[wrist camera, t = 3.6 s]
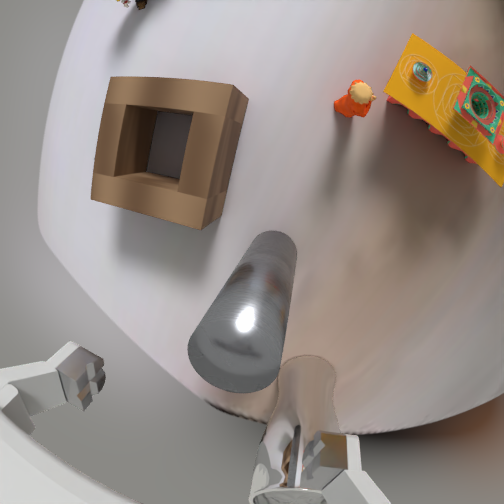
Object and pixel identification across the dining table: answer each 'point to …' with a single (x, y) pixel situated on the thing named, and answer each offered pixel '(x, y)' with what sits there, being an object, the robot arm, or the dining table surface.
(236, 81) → the dining table surface
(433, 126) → the toy building block set
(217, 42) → the dining table surface
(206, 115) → the wooden block with hole
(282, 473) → the beer glass
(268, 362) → the metal peg
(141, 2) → the figurine set
